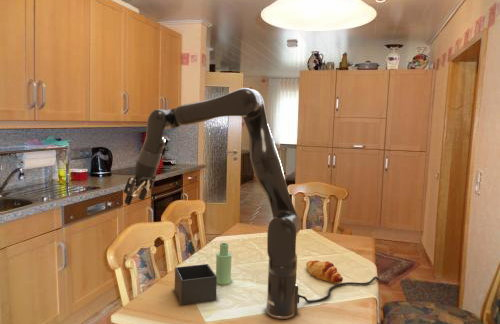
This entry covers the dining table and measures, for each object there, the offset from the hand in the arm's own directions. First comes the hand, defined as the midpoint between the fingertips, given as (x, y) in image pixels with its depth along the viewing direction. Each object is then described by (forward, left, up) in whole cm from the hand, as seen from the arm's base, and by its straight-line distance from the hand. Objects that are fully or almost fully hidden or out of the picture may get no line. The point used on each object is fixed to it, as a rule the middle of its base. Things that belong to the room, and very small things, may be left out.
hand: (134, 201), depth 143 cm
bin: (-20, +16, -31) cm, 40 cm away
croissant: (-74, +14, -32) cm, 81 cm away
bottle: (-33, +8, -31) cm, 46 cm away
